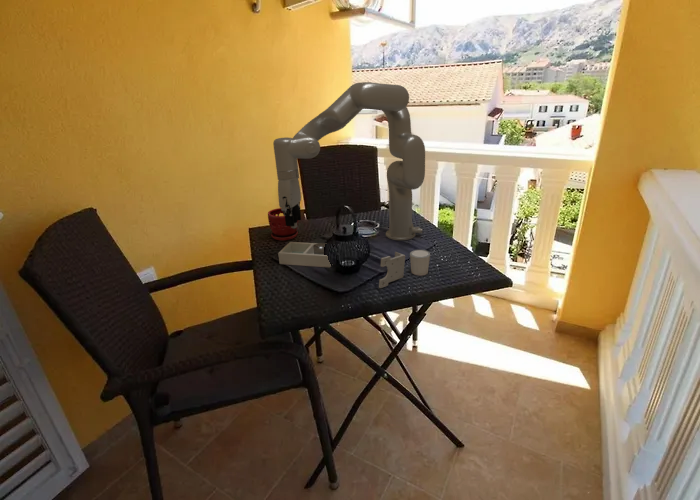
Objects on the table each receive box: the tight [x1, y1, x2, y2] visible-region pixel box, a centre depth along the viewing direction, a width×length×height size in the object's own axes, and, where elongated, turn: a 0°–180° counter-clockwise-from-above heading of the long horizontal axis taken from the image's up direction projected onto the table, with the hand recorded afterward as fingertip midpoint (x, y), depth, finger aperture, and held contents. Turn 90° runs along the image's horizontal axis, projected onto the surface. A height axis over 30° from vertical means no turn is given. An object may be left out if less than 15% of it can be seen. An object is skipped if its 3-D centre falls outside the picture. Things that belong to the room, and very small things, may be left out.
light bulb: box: [287, 205, 301, 229], centre depth 137 cm, size 6×6×10 cm
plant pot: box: [267, 207, 299, 241], centre depth 164 cm, size 13×13×12 cm
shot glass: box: [409, 249, 431, 276], centre depth 128 cm, size 7×7×7 cm
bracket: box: [378, 251, 406, 289], centre depth 123 cm, size 11×4×10 cm, turn 132°
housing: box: [277, 241, 332, 268], centre depth 142 cm, size 20×11×6 cm, turn 75°
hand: (293, 222), depth 138 cm, fingers closed on light bulb, 5 cm apart
